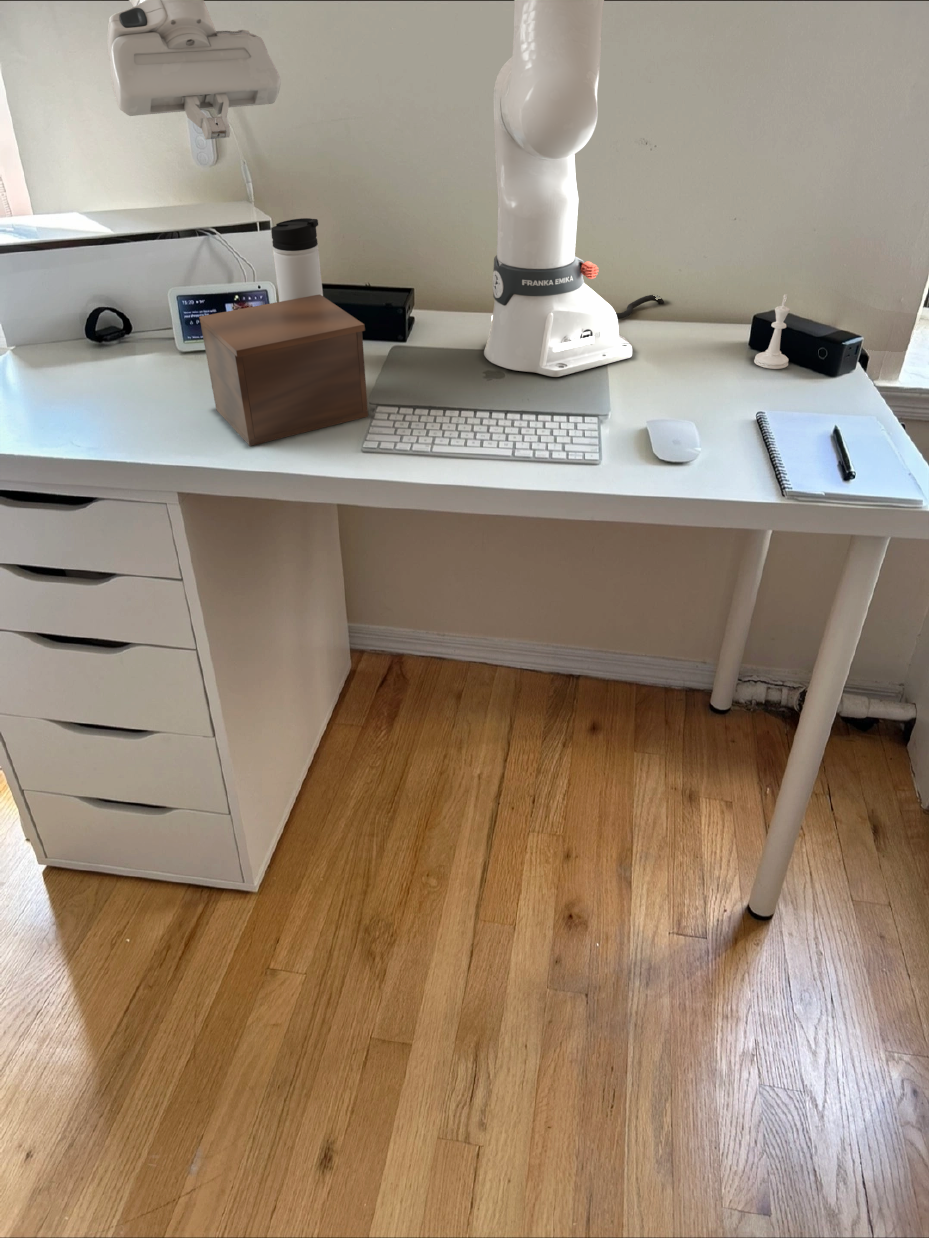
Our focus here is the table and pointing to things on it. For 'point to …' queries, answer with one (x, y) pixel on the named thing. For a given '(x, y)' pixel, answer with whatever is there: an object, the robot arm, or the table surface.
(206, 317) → the box lid
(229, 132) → the robot arm
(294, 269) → the travel mug
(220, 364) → the storage box
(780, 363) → the chess piece
